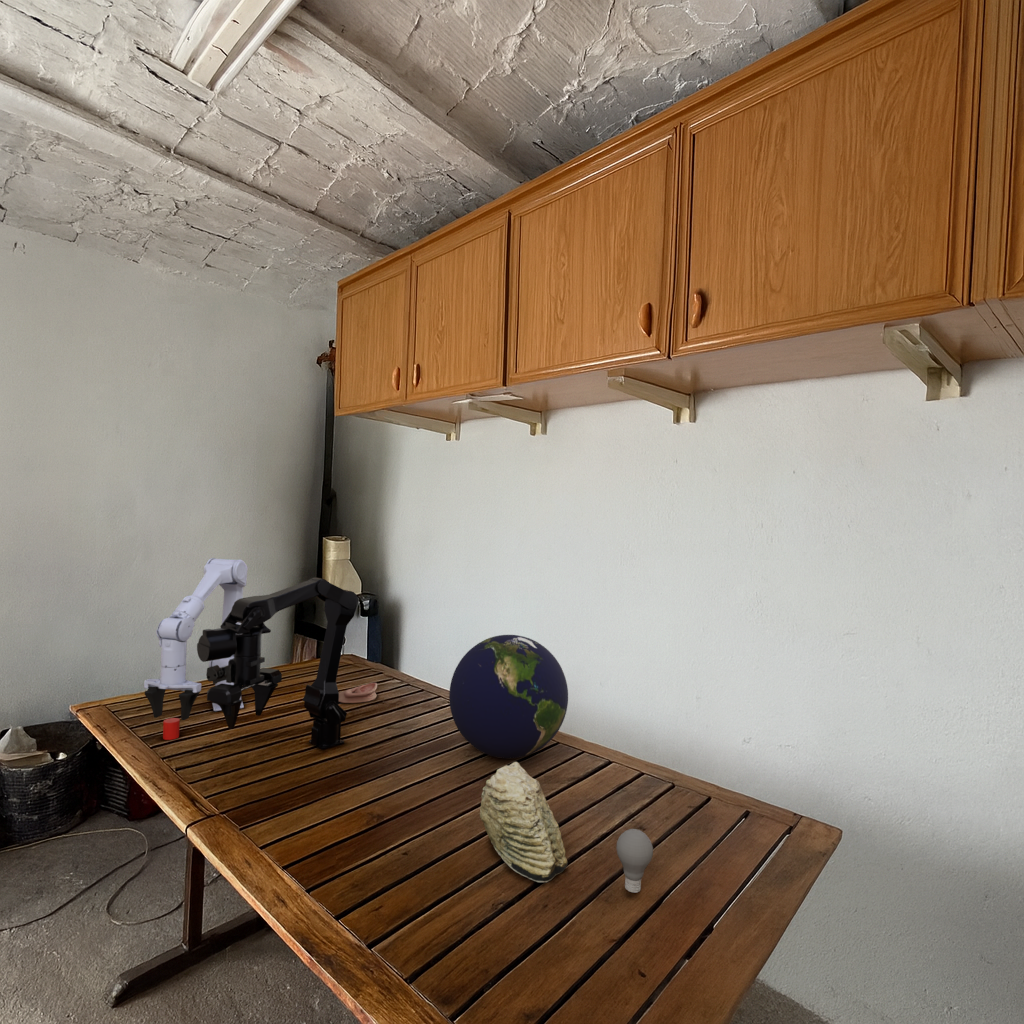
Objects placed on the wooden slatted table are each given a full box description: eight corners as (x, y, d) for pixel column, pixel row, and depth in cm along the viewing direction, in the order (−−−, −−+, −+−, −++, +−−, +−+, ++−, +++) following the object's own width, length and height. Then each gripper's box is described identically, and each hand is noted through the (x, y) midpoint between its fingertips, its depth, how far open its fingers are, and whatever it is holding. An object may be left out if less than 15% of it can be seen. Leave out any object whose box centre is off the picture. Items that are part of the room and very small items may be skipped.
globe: (495, 724, 181) (499, 619, 180) (587, 752, 163) (592, 636, 163) (421, 755, 157) (426, 635, 156) (520, 792, 139) (526, 657, 139)
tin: (174, 733, 164) (174, 716, 164) (182, 736, 163) (182, 720, 162) (159, 737, 161) (160, 720, 161) (167, 741, 159) (168, 723, 159)
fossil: (501, 827, 124) (504, 751, 124) (575, 868, 111) (578, 784, 111) (467, 843, 118) (470, 763, 118) (541, 889, 105) (545, 799, 105)
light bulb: (610, 879, 108) (613, 822, 108) (644, 879, 109) (647, 822, 109) (619, 902, 102) (622, 840, 102) (655, 901, 103) (658, 840, 103)
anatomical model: (326, 688, 195) (343, 678, 206) (325, 700, 195) (343, 690, 206) (366, 692, 192) (381, 682, 203) (365, 705, 192) (381, 694, 203)
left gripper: (136, 666, 159) (134, 720, 159) (189, 671, 157) (187, 725, 157) (155, 659, 166) (153, 711, 166) (207, 664, 164) (205, 716, 164)
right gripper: (244, 642, 156) (242, 705, 156) (187, 659, 138) (184, 731, 138) (284, 646, 153) (281, 711, 153) (230, 665, 135) (228, 738, 135)
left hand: (171, 717), depth 162 cm, fingers open, 7 cm apart
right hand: (245, 721), depth 145 cm, fingers open, 9 cm apart
